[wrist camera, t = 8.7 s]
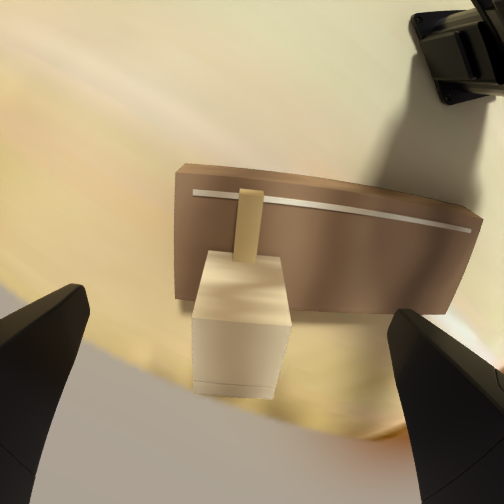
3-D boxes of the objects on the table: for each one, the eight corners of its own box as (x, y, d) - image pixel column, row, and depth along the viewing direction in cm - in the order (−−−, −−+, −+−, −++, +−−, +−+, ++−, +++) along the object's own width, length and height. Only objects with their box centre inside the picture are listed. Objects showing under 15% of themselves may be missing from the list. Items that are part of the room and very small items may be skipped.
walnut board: (464, 206, 19) (484, 219, 16) (431, 296, 22) (445, 315, 20) (185, 163, 18) (175, 172, 15) (182, 278, 21) (174, 299, 19)
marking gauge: (285, 183, 18) (310, 242, 10) (266, 306, 22) (272, 399, 14) (216, 176, 17) (192, 230, 10) (209, 301, 21) (193, 393, 14)
